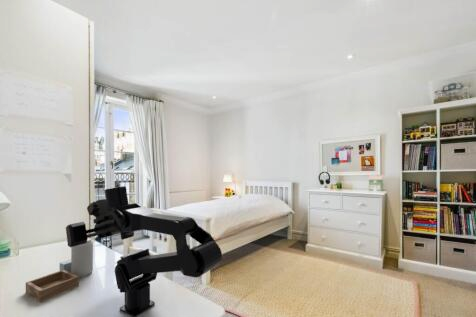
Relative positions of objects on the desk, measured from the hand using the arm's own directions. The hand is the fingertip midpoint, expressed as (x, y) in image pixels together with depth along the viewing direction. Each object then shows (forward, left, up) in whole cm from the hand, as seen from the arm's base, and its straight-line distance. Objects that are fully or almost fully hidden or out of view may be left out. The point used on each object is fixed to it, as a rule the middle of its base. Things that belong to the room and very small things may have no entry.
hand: (89, 232), depth 78 cm
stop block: (+14, -2, -16) cm, 22 cm away
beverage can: (+9, -2, -17) cm, 19 cm away
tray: (+6, +8, -16) cm, 19 cm away
